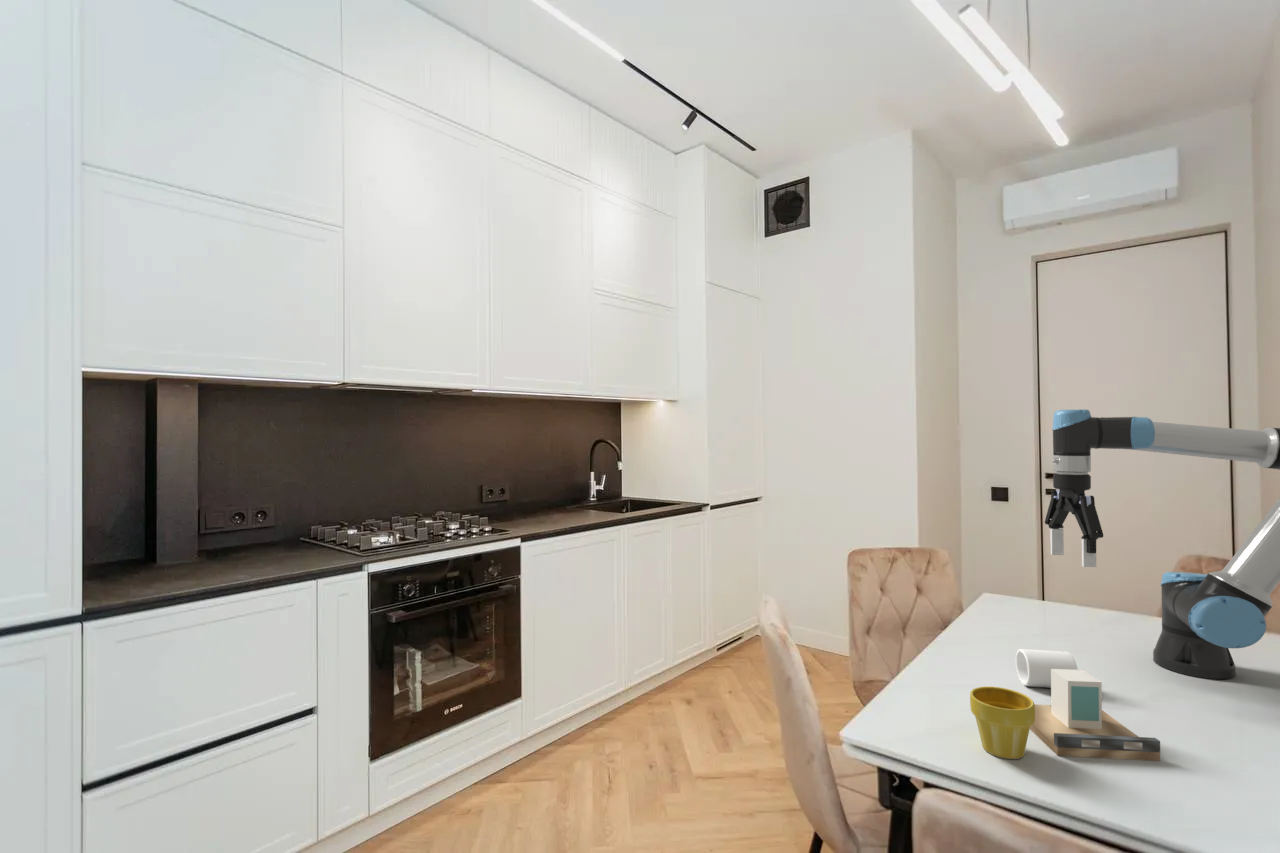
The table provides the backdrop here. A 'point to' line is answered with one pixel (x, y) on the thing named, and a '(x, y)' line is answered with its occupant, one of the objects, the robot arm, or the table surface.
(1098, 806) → the table surface
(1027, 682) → the mug
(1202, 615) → the robot arm
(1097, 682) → the carton
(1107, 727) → the shelf board
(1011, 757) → the plant pot
